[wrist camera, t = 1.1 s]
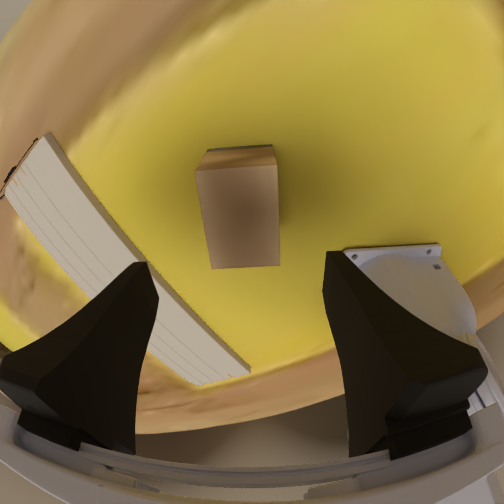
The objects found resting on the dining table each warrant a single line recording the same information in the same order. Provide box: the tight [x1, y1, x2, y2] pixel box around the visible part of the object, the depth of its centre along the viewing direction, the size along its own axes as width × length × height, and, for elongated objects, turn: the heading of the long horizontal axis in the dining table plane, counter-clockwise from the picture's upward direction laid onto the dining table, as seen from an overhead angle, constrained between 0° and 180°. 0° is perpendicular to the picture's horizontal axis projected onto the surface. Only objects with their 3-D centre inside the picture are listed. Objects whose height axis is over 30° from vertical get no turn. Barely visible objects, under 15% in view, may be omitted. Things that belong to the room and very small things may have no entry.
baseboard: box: [0, 133, 251, 386], centre depth 24 cm, size 30×3×10 cm
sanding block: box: [195, 144, 280, 269], centre depth 17 cm, size 4×6×4 cm, turn 4°
